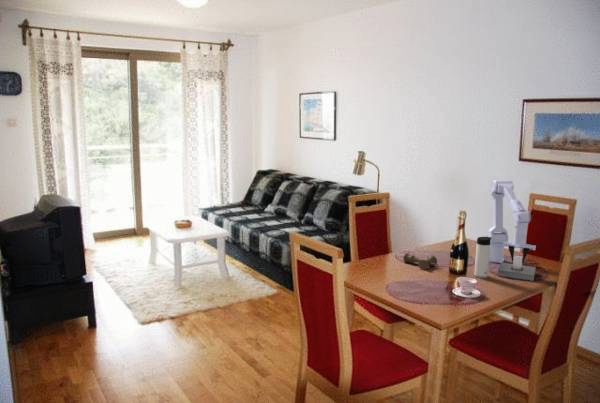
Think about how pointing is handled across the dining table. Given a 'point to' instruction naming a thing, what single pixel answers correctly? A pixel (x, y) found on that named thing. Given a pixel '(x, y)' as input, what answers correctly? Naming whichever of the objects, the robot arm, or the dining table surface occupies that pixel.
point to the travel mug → (482, 257)
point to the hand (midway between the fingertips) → (517, 262)
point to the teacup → (466, 287)
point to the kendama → (421, 261)
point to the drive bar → (517, 263)
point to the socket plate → (516, 272)
